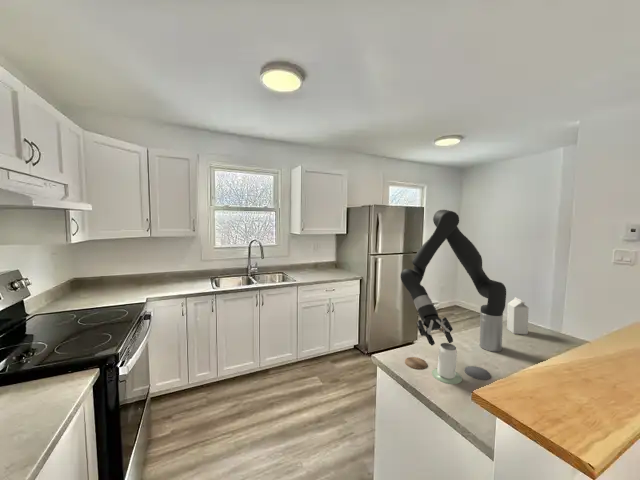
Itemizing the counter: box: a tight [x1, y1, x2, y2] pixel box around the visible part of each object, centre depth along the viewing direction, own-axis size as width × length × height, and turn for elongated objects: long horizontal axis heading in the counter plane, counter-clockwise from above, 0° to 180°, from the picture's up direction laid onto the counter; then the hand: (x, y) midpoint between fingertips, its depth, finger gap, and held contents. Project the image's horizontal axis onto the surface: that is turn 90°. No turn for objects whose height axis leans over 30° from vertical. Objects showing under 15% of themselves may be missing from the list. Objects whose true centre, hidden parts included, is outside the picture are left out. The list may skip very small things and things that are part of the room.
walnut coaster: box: [404, 356, 428, 370], centre depth 118 cm, size 9×9×1 cm
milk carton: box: [506, 296, 529, 335], centre depth 151 cm, size 7×7×19 cm
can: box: [437, 342, 458, 379], centre depth 108 cm, size 6×6×12 cm
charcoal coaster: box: [464, 365, 491, 381], centre depth 110 cm, size 9×9×1 cm
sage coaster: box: [431, 367, 463, 385], centre depth 108 cm, size 11×11×1 cm
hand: (442, 343), depth 110 cm, fingers open, 8 cm apart
